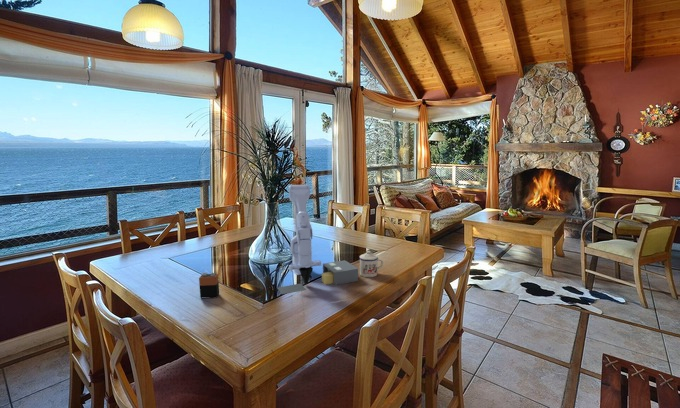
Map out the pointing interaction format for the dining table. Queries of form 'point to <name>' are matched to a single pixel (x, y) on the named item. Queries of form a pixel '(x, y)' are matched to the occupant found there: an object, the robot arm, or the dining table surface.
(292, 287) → the deck mat
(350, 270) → the socket box
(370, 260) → the teacup with lid
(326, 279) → the yellow block
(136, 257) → the dining table surface
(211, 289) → the battery
